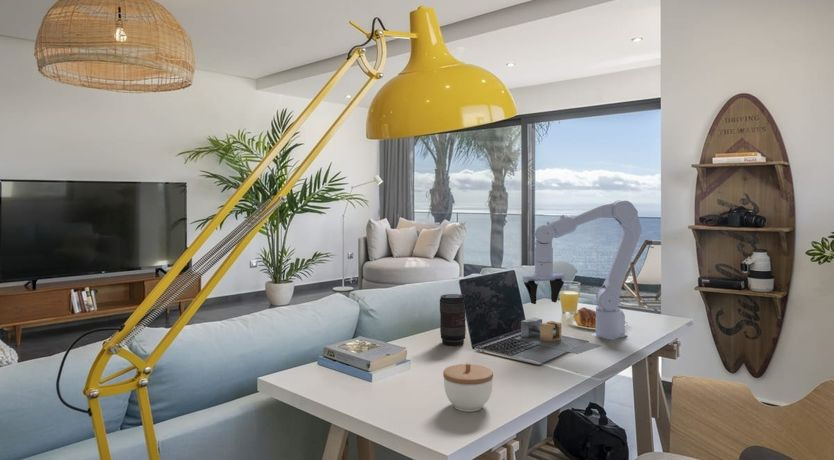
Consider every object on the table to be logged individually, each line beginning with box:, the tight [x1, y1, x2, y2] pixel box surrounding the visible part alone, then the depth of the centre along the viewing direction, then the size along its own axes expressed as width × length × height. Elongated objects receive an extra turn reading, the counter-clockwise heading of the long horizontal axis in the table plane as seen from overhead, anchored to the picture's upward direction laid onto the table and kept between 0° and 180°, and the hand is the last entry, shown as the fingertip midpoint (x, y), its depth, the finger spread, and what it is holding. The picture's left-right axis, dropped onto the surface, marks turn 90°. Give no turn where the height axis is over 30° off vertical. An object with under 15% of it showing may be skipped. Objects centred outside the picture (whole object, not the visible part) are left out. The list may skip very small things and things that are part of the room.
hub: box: [540, 320, 562, 343], centre depth 167 cm, size 5×4×5 cm
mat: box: [513, 336, 602, 355], centre depth 166 cm, size 13×23×1 cm, turn 40°
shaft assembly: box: [520, 317, 557, 339], centre depth 170 cm, size 7×10×5 cm, turn 40°
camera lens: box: [439, 293, 467, 347], centre depth 168 cm, size 8×8×15 cm
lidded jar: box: [443, 362, 494, 413], centre depth 117 cm, size 11×11×9 cm
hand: (543, 302), depth 178 cm, fingers open, 7 cm apart
